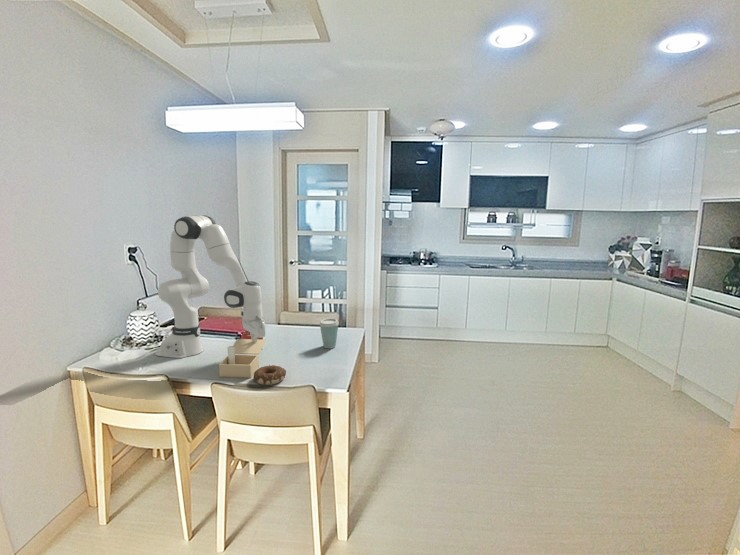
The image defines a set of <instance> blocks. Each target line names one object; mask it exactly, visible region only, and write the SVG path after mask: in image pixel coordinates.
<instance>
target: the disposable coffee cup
mask: <svg viewBox="0 0 740 555" xmlns="http://www.w3.org/2000/svg"><path fill="white" fill-rule="evenodd" d="M339 324H340V323H339V321H338V319H337V318H333V317H330V318H329V317H328V318H324V319H322V320H320V322H319V327H320V334H321V340H322V345H323V348H325V349H334V348H336V345H337V338H338V329H339Z"/></svg>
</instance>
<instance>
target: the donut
mask: <svg viewBox="0 0 740 555" xmlns="http://www.w3.org/2000/svg"><path fill="white" fill-rule="evenodd" d="M286 374H287V371H286V369H285V368H283V367H281V366H279V365H274V364H272V365H270V364H269V365H264V366H261V367H259V368H258V369H257V370H256V371H255V372H254V375H253V376H252V377H253V378H252V379H253V382H255V383H257V384H259V385H262V386H271V385H276V384H278V383H280V382H282V381H283V379H284V378H286Z"/></svg>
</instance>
